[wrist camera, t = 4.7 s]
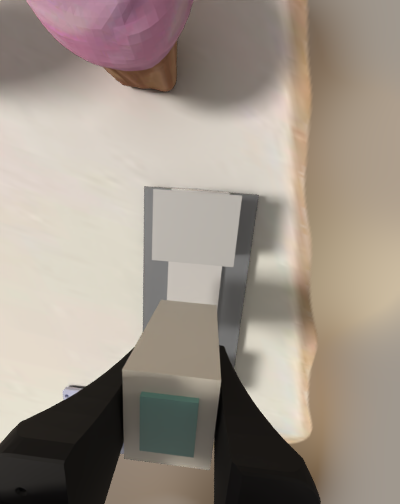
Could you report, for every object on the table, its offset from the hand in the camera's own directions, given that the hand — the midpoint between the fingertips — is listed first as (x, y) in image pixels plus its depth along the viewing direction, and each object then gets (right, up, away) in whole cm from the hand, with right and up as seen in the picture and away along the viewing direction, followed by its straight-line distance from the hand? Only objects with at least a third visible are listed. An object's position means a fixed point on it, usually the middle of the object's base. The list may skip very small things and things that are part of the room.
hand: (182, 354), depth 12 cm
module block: (0, +1, +2) cm, 2 cm away
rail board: (0, +2, +7) cm, 8 cm away
